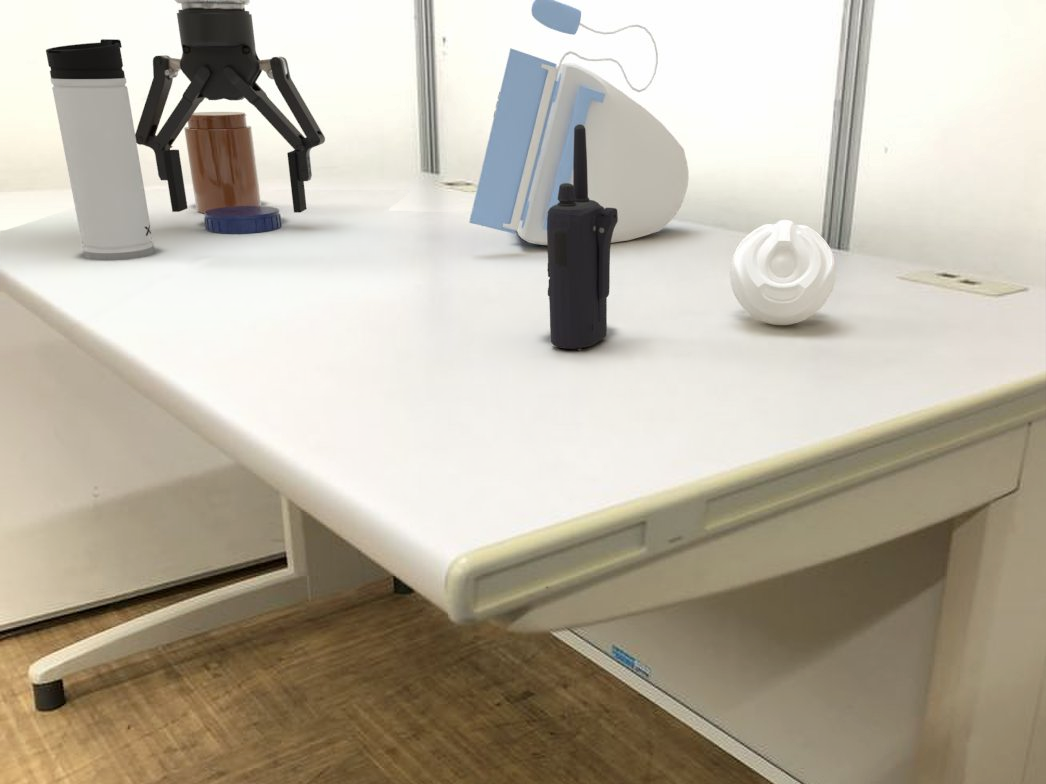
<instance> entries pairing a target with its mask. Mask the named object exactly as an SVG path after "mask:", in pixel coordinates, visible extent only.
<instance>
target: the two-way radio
mask: <svg viewBox="0 0 1046 784" xmlns="http://www.w3.org/2000/svg"><path fill="white" fill-rule="evenodd" d="M558 200H559V203H558V204H556V205H554V206H552V207H551V208H550V209H549V211H548V216H547V245H546V246H547V268H546V269H547V270H546V271H547V276H548V288H547V297H548V301H549V330H550V333H549V334H550V342H551V344H552V345H553V346H554V347H556V348H557V349H565V350H566V349H567V350H574V351H581V350H582V348H586V347H590V346H593V345H595V344H597V343H599V342H600V341H602V340H603V339H605V338H606V337H607V332H608V321H607V319H608V318H607V317H608V315H607V311H608V303H607V302H608V297H609V296H610V285H611V284H610V283H611V282H610V280H611V279H610V278H611V277H610V275H611V273H610V271H611V269H610V267H611V266H610V265H611V246H612V243H611V239H612V234H613V231H614V228H615V226H616V224H617V222H618V214H617V209H616V208H605V209H604V207H603V206H600V204H599V203H598V202H596V201H594V200H589V198H588V178H587V150H586V130H585V127H584V126H583V125H581V124H578V125H576V126H575V128H574V157H573V185H572V184H570V183H563V184H561V185H560V186H559V193H558Z"/></svg>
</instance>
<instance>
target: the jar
mask: <svg viewBox="0 0 1046 784" xmlns="http://www.w3.org/2000/svg"><path fill="white" fill-rule="evenodd" d="M247 123H248V122H247V114H246V113H245V112H242V111H241V112H240V111H200V112H199V111H198V112H197V111H196V112H194V113H193V114H192V116H191V117H190V119H189V120H188V122H187V126H184V128H183V130H184V137H185V142H186V144H185V145H186V149H187V158H188V164H189V170H190V176H191V182H192V183H191V184H192V190H193V197H194V203H195V210H196V213H200V214H204V212H205V211H208V210H211V209H216V208H224V207H235V206H262V200H261V191H260V183H259V175H258V168H257V160H256V153H255V145H254V138H253V137H254V136H253V128H252V126H251V125H248V124H247Z"/></svg>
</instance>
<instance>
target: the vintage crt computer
mask: <svg viewBox="0 0 1046 784" xmlns="http://www.w3.org/2000/svg"><path fill="white" fill-rule="evenodd" d="M530 11H531V15H532V17H533V19H534V20H536V21H537V22H538V23H539V24H541V25H543V26H544V27H546V28H547V29H551V30H553V31H557V32H558V33H564V34H567V35H573V36H574V35H576V34H577V32H578V31H579V27H582V28H585V29H586V30H588V31H591V32H593V33H596V34H601V35H612V34H616V33H619V32H621V31H624V30H626V29H628V28H636V27H637V28H639V29H643V30H645V32H646V33H647V34H648V35H649V36H650V39H651V41H652V43H653V46H654V51H655V66H654V70H653V74H652V76H651V79H650V80H649V82H648V83H647V84H646V85H645V87H643V88H640V89H637V88H636V87H633V85H632V84H631V83H630V82H629V79H628V78H627V76H626V73H625V71H624V70H625V69H624V68H623V65H621V64H620V62H619V61H618V60H616V59H614V58H612V57H611V58H588V57H584V56H581V55H580V54H578V53H577V52H575V51H571V50H569V51H567V52H565V53H564V55H563V56H562V57H561V59H560V61H559V63H558V65H557V63H555V62H552V61H549V60H546V59H544V58H542V57H541V58H540V57H539V56H535V55H532V54H529V53H526V52H523V51H520V50H518V49H514V48H512V47H510V48H509V52H508V56H507V59H506V63H505V68H504V73H503V76H502V81H501V85H500V90H499V91H498V96H497V101H496V104H495V109H494V113H493V119H492V123H491V126H490V131H489V136H488V140H487V145H486V149H485V153H484V157H483V162H482V166H481V170H480V174H479V179H478V182H477V187H476V191H475V195H474V199H473V203H472V209H471V212H470V217H469V220H468V223H470V224H473V225H477V226H481V227H485V228H489V229H493V230H497V231H501V232H505V233H510V234H515V233H516V232H517V235H518V236H519V237H520V238H521V239H523V241H526V242H527V243H529V244H534V245H542V246H547V216H548V211H549V209H550V208H551V207H552V206H554V205H556V204H558V203H559V200H558V193H559V186H560V185H561V184H563V183H570V184H572V185H573V157H574V128H575V126H576V125H578V124H581V125H583V126H584V127H585V130H586V150H587V178H588V198H589V200H594V201H596V202H598V203H599V204H600V206H603V207H604V209H605V208H616V209H617V214H618V222H617V224H616V226H615V228H614V231H613V234H612V239H611V244H612V243H620V242H625V241H632V240H635V239H638V238H642V237H645V236H648V235H652V234H654V233H657V232H660V231H662V230H663V229H664V228H665V227H666V226H667V225H668V224H669V223H670V222H671V221H672V220H673V219H674V217H675V216H676V215H677V214H678V212H679V211H680V209H681V207H682V205H683V203H684V200H685V197H686V194H687V190H688V186H689V167H688V161H687V157H686V152H685V149H684V147H683V146H682V145H681V143H680V142H679V141H678V140H677V139H676V137H675V136H674V135H673V134H672V133H671V132H670V131H669V129H668V128H667V127H666V126H665V124H663V123H662V122H661V121H660V120H659V119H658V118H657V117H656V116H654V115H653V114H652V113H651V112H650V111H648V110H647V109H646V108H645V107H643V106H642V104H640V103H638V102H637V101H635V100H634V99H632V98H631V97H629V96H628V95H627V94H626V93H624V92H623V91H621V90H620V89H618V87H615V86H614V85H613V84H611V83H610V82H608V81H607V80H605V79H604V78H603V77H601V76H600V75H598V74H596V73H595V72H594V71H592V70H589V69H587V68H586V67H585V68H584V67H583V66H581V65H579V64H576V63H567V62H565V63H562V62H563V61H564V60H565V58H566V56H568V55H570V54H571V55H573V56H576V57H578V58H579V59H582V60H584V61H588V62H601V61H610V62H614V63H616V64H617V66H618V67H619V68H620V70H621V72H622V74H623V76H624V77H623V78H624V79H625V81H626V83H627V85H628V86H629V87H630V89H632V91H634V92H637V93H640V92H643V91H645V90H647V89H648V88H649V87H650V85H651V84H652V83H653V80H654V78H655V76H656V72H657V67H658V63H659V61H658V59H659V58H658V56H659V55H658V54H659V53H658V49H657V44H656V41H655V40H654V39H655V38H654V37H653V35H652V33H651V32H650V31H649V30H648V28H646V27H645V26H643V25H640V24H630V25H627V26H623V27H621V28H618V29H616V30H613V31H600V30H595V29H593V28H591V27H588V26H587V25H584V23H582V22H581V19H582V11H581V10H580V9H578V8H576V7H573V6H572V5H569V4H566V3H562V2H560V1H558V0H533V3H532V5H531V10H530Z"/></svg>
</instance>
